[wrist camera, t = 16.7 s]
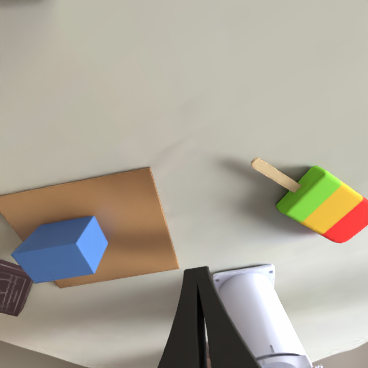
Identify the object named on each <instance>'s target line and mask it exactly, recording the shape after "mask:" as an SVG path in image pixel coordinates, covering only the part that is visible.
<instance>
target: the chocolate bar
mask: <svg viewBox="0 0 368 368" xmlns="http://www.w3.org/2000/svg"><path fill="white" fill-rule="evenodd" d="M32 283H33V280H32V279H31V278H30V277H29V276H28V274H27V273H26V272H25V271H24V270H23V269H22V267H21V266H19V265H16V264H13V263H9V262H6V261H3V260H0V313H4V314H8V315H12V316H18V315H19V314H20V312H21V311H22V309H23V307H24V304H25V301H26V299H27V296H28V294H29V291H30V288H31V286H32Z"/></svg>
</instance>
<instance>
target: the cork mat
mask: <svg viewBox="0 0 368 368" xmlns="http://www.w3.org/2000/svg"><path fill="white" fill-rule="evenodd" d="M0 212H1V214H2V215H3V216H4V217H5V219H6V220H7V221H8V223H9V224H10V225H11V226H12V228H13V229H14V230H15V232H16V233H17V234H18V236H19V237H20V238H21V239H22V241H23V242H24V241H25V240H26V239H27V238H28V237H29V236H30V235H31V234H32V233H33V232H34V231H35V230H36V229H37V228H38V227H39V226H40V225H44V224H50V223H55V222H61V221H66V220H72V219H77V218H83V217H88V216H95V218H96V220H97V222H98V224H99V226H100V228H101V230H102V232H103V234H104V236H105V238H106V240H107V242H108V244H107V247H106V249H105V251H104V254H103V256H102V258H101V260H100V263H99V265H98V267H97V269H96V272H95V274H90V275H84V276H78V277H72V278H66V279H60V280H54V282H55V283H56V284H57V286H58V287H59V288H65V287H71V286H77V285H83V284H89V283H95V282H101V281H107V280H114V279H120V278H126V277H132V276H138V275H144V274H150V273H156V272H162V271H168V270H174V269H179V265H178V261H177V258H176V254H175V251H174V247H173V244H172V241H171V237H170V234H169V230H168V227H167V223H166V220H165V217H164V213H163V210H162V206H161V203H160V199H159V196H158V192H157V189H156V186H155V182H154V179H153V175H152V172H151V168H150V167H147V168H142V169H137V170H132V171H127V172H121V173H116V174H111V175H106V176H101V177H96V178H90V179H85V180H80V181H75V182H70V183H64V184H59V185H54V186H49V187H44V188H38V189H33V190H28V191H23V192H18V193H12V194H7V195H2V196H0Z"/></svg>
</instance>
